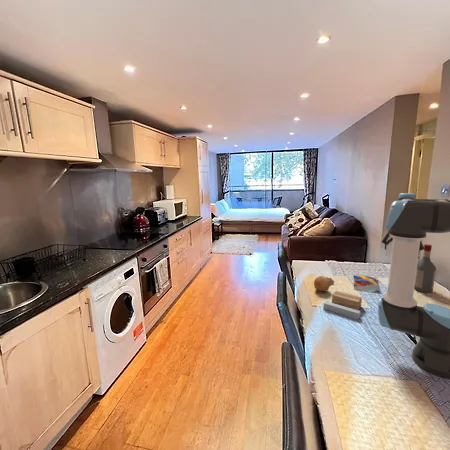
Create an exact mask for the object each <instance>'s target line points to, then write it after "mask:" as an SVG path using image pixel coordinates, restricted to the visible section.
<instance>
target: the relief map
mask: <svg viewBox="0 0 450 450" xmlns="http://www.w3.org/2000/svg"><path fill="white" fill-rule="evenodd" d="M352 279H353V290H354V291H360V292H367V293H373V294H380V295H382V291H381V287H380V283H379V279H378V277H373V276H367V275H355V274H353V276H352Z"/></svg>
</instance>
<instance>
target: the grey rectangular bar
mask: <svg viewBox="0 0 450 450" xmlns="http://www.w3.org/2000/svg"><path fill="white" fill-rule="evenodd" d="M323 309H324V310H327V311H330V312H331V313H335V312H336V314H338V315H343V316H346V317H347V318H348V317H349V318H351V319H355V320H359V319H360V317H361V311H360V310H359V311H358V310H355V309H351V308H348V307H344V306H341V305H337V304H334V303H332V302H330V301H327V300H325V301H324V302H323Z"/></svg>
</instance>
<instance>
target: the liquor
mask: <svg viewBox="0 0 450 450" xmlns="http://www.w3.org/2000/svg"><path fill="white" fill-rule="evenodd" d="M423 246H424V250H423V253H422V258H421V259H420V260H418V262H417V270H416V278H415V286H414V291H416V292H419V293H422V292H424V293H426V294H431V293H433V291H434V285H435V280H436V273H437V271H436V270H437V268H436V266H435V264H434V262H432V261H431V255H432V253H431V251H432V247H433V246H432V244H423ZM424 293H423V294H424Z"/></svg>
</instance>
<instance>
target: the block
mask: <svg viewBox="0 0 450 450" xmlns="http://www.w3.org/2000/svg"><path fill="white" fill-rule="evenodd" d="M331 296H332V297H331V303H334V304H337V305H341V306H344V307H348V308H351V309H355V310H358V311H360V309H361V308H362V299H363V298H362V296H358V295H355V294H351V293H348V292H343V291H340V290H335V291H334V293H332V295H331Z"/></svg>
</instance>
